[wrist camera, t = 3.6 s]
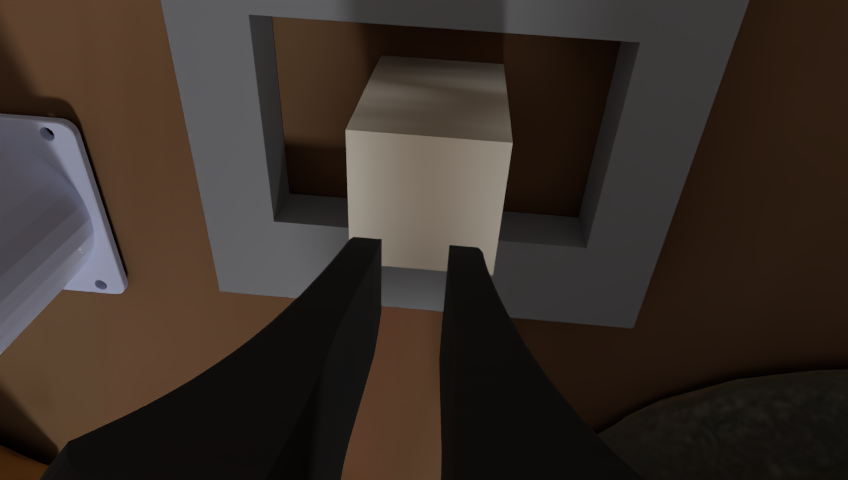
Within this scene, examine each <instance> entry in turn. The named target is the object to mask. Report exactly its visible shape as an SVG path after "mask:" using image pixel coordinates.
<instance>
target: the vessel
mask: <svg viewBox="0 0 848 480" xmlns="http://www.w3.org/2000/svg"><path fill="white" fill-rule="evenodd" d="M597 435H598V437H599V438H600V439H601V440H602V441H603V442H604V443H605V444H606V445H607V446H608V447H609V448H610V449H611V450H612V451H614V452H615V453H616V454H617V455H618V456H619V457H620V458H621V459H622V460H623V461H624V462H625V463H626V464H627V465H629V466H630V467H631V468H632V469H633V470H634V471H636V472H637V473H638V474H639V475H640V476H641V477H643V478H644V479H645V480H848V369H845V370H814V371H799V372H791V373H783V374H775V375H767V376H759V377H751V378H743V379H737V380H732V381H729V382H725V383H721V384H718V385H714V386H710V387H707V388H703V389H699V390H696V391H692V392H688V393H684V394H681V395H677V396H673V397H670V398H666V399H662V400H659V401H657V402H655V403H653V404H651V405H649V406H647V407H645V408H643V409H641V410H639V411H636V412H634V413H632V414H630V415H628V416H627V417H625V418H624V419H622V420H621V421H619V422H618V423H616V424H615V425H613V426H612V427H610V428H608V429H606V430H605V431H603V432H601V433H599V434H597Z"/></svg>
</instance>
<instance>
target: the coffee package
mask: <svg viewBox="0 0 848 480" xmlns="http://www.w3.org/2000/svg"><path fill="white" fill-rule="evenodd" d="M48 467H49V465H45V464H42V463H40V462H37V461H35V460H33V459H30V458H27V457H25V456H23V455H21V454H19V453H17V452H15V451H13V450H11V449H9V448H6V447H4V446H1V445H0V480H39V479H40V478H41V477H42V475H43V474H44V472H45V471H46V469H47V468H48Z"/></svg>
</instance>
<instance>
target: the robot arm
mask: <svg viewBox="0 0 848 480" xmlns="http://www.w3.org/2000/svg"><path fill="white" fill-rule="evenodd" d="M47 128H49V129H50V130H51V131H52V132H53V134H54V136H53V135H51V134H50V133H49V132H48V130H47ZM381 277H382V239H373V238H362V237H352V238H351V239H350V240H349V241H348V242H347V243H346V244H345V245H344V247H343V248H342V249H341V250H340V252H339V253H338V254H337V255H336V256H335V258H334V259H333V260H332V261H331V262H330V263H329V265H328V266H327V267H326V268H325V269H324V270H323V271H322V273H321V274H320V275H319V276H318V277H317V278H316V279H315V280H314V281H313V282H312V283H311V284H310V285H309V286H308V287H307V288H306V289H305V290H304V292H303V293H302V294H301V295H300V296H299V297H298V298H297V299H296V300H294V301H293V302H292V303H291V304H290V305H289V306H288V307H287V308H286V309H285V310H284V311H283V312H282V313H280V314H279V315H278V316H277V317H276V318H275V319H274V320H273V321H272V322H271V323H269V324H268V325H267V326H266V327H265V328H264V329H262V330H261V331H260V332H259V333H257V334H256V335H255V336H254V337H252V338H251V339H250V340H249V341H247V342H246V343H245V344H243V345H242V346H241V347H240V348H238V349H237V350H236V351H234V352H233V353H231V354H230V355H228V356H227V357H226V358H224V359H223V360H221V361H220V362H218V363H217V364H215V365H214V366H212V367H211V368H209V369H208V370H206V371H205V372H203V373H202V374H200V375H199V376H197V377H195V378H194V379H192V380H191V381H189V382H187V383H185V384H184V385H182V386H180V387H179V388H177V389H175V390H173V391H172V392H170V393H168V394H166V395H164V396H163V397H161V398H159V399H157V400H155V401H153V402H151V403H150V404H148V405H146V406H144V407H142V408H140V409H138V410H136V411H134V412H132V413H130V414H128V415H126V416H124V417H122V418H119V419H117V420H115V421H113V422H111V423H109V424H106V425H104V426H102V427H100V428H98V429H96V430H94V431H91V432H89V433H87V434H85V435H83V436H81V437H78V438H76V439H74V440H71V441H69V442H68V443H67V444H66V446H65V447H64V448H63V449H62V451H61V452H60V453H59V454H58V456H57V457H56V458H55V459H54V460H53V462H52V463H51V464H50V465H49V467H48V468H47V469H46V471H45V472H44V474H43V475H42V477H41V478H40V479H39V480H341V475H342V469H343V464H344V460H345V456H346V451H347V447H348V443H349V440H350V436H351V433H352V429H353V426H354V423H355V419H356V416H357V412H358V409H359V405H360V402H361V399H362V395H363V392H364V388H365V385H366V381H367V378H368V374H369V371H370V367H371V364H372V360H373V357H374V353H375V347H376V341H377V336H378V329H379V323H380V317H381ZM102 281H103V282H102ZM104 282H105V283H104ZM127 286H128V281H127V278H126V275H125V272H124V269H123V266H122V263H121V260H120V256H119V253H118V250H117V247H116V244H115V241H114V238H113V235H112V232H111V228H110V225H109V222H108V219H107V216H106V213H105V210H104V207H103V204H102V200H101V197H100V194H99V191H98V188H97V185H96V182H95V179H94V176H93V172H92V169H91V166H90V163H89V160H88V157H87V154H86V151H85V148H84V144H83V141H82V138H81V135H80V132H79V130H78V128H77V127H76V126H75V125H74V124H73V123H72V122H70V121H69V120H66V119H63V118H51V117H39V116H26V115H13V114H1V113H0V355H1V353H2V352H3V351H4V350H5V349H6V348H7V347H8V346H9V345H10V344H11V343H12V342H13V341H14V340H15V339H16V338H17V337H18V336H19V334H20V333H21V332H22V331H23V330H24V329H25V328H26V327H27V326H28V325H29V324H30V323H31V322H32V321H33V320H34V319H35V318H36V317H37V315H38V314H39V313H40V312H41V311H42V310H43V309H44V308H45V307H46V306H47V305H48V304H49V303H50V302H51V301H52V300H53V299H54V298H55V296H56V295H57V294H58V293H59V292H60V291H61V290H62V289H66V290H77V291H88V292H99V293H110V294H120V293H122V292H123V291H124V290H125V289H126V288H127ZM439 363H440V404H441V442H442V468H441V480H645V479H644V478H643V477H641V476H640V475H639V474H638V473H637V472H636V471H634V470H633V469H632V468H631V467H630V466H629V465H627V464H626V463H625V462H624V461H623V460H622V459H621V458H620V457H619V456H618V455H617V454H616V453H615V452H614V451H612V450H611V449H610V448H609V447H608V446H607V445H606V444H605V443H604V442H603V441H602V440H601V439H600V438H599V437H598V435H597V434H596V433H595V432H594V431H593V430H592V429H591V428H590V427H589V425H588V424H587V423H586V422H585V421H584V420H583V419H582V418H581V417H580V416H579V414H578V413H577V412H576V411H575V410H574V409H573V408H572V407H571V406H570V405H569V403H568V402H567V401H566V400H565V399H564V397H563V396H562V395H561V393H560V392H559V391H558V390H557V388H556V387H555V386H554V385H553V383H552V382H551V381H550V379H549V378H548V377H547V375H546V374H545V373H544V371H543V370H542V368H541V367H540V366H539V364H538V363H537V361H536V360H535V358H534V357H533V355H532V354H531V352H530V351H529V349H528V348H527V346H526V345H525V343H524V341H523V340H522V338H521V336H520V335H519V333H518V331H517V330H516V328H515V326H514V324H513V322H512V321H511V319H510V317H509V315H508V313H507V311H506V309H505V307H504V305H503V303H502V301H501V299H500V297H499V295H498V293H497V291H496V289H495V286H494V284H493V281H492V279H491V277H490V274H489V271H488V269H487V266H486V263H485V259H484V255H483V252H482V251H481V250H480V249H479V248H478V247H467V246H455V245H449V254H448V265H447V276H446V287H445V298H444V309H443V321H442V333H441V346H440V358H439Z"/></svg>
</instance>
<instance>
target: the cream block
mask: <svg viewBox="0 0 848 480" xmlns="http://www.w3.org/2000/svg"><path fill="white" fill-rule="evenodd" d="M512 145H513V140H512V131H511V122H510V114H509V105H508V96H507V88H506V79H505V70H504V64H494V63H480V62H466V61H453V60H439V59H426V58H412V57H398V56H385V55H381V56H380V58H379V61H378V63H377V65H376V67H375V69H374V71H373V73H372V75H371V77H370V79H369V81H368V84H367V86H366V88H365V90H364V92H363V94H362V96H361V98H360V100H359V102H358V105H357V107H356V109H355V111H354V113H353V115H352V117H351V119H350V121H349V123H348V125H347V128H346V161H347V192H348V222H349V240H350V239H351V238H352V237H362V238H373V239H382V266H391V267H402V268H413V269H425V270H436V271H447V265H448V254H449V245H455V246H467V247H478V248H479V249H480V250H481V251H482V252H483V255H484V259H485V263H486V266H487V269H488V271H489V274H490V275H493V271H494V265H495V258H496V252H497V245H498V238H499V232H500V225H501V218H502V212H503V205H504V198H505V192H506V185H507V178H508V172H509V165H510V158H511V152H512Z"/></svg>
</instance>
